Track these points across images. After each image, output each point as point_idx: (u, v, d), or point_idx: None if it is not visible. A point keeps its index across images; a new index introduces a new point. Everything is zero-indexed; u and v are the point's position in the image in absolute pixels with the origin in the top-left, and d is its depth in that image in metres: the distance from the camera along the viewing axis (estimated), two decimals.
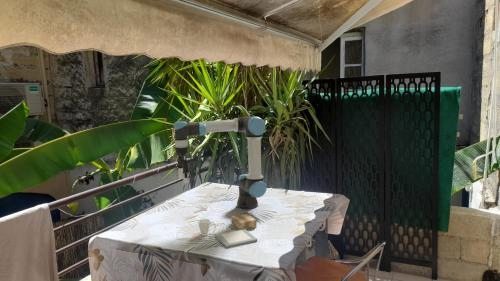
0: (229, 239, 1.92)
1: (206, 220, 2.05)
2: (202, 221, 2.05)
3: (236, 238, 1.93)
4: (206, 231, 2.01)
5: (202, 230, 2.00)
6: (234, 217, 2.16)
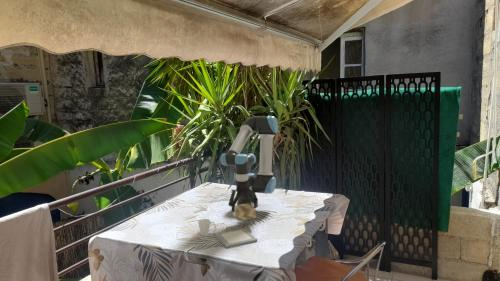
0: (229, 239, 1.92)
1: (206, 220, 2.05)
2: (202, 221, 2.05)
3: (236, 238, 1.93)
4: (206, 231, 2.01)
5: (202, 230, 2.00)
6: None
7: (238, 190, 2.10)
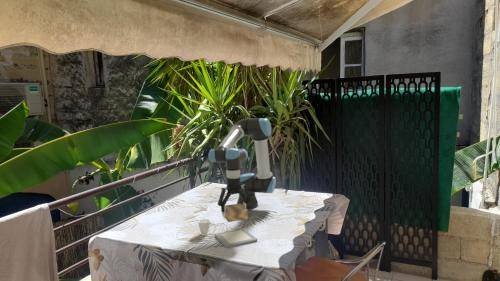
0: (229, 239, 1.92)
1: (206, 220, 2.05)
2: (202, 221, 2.05)
3: (236, 238, 1.93)
4: (206, 231, 2.01)
5: (202, 230, 2.00)
6: None
7: (229, 188, 1.89)
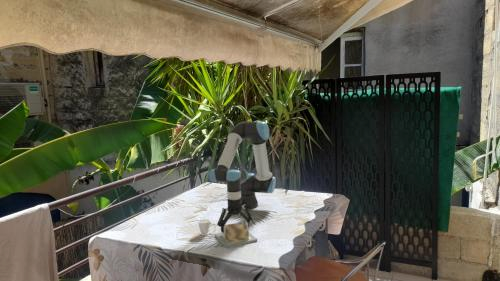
0: None
1: (206, 220, 2.05)
2: (202, 221, 2.05)
3: None
4: (206, 231, 2.01)
5: (202, 230, 2.00)
6: (225, 226, 1.97)
7: (229, 209, 1.91)
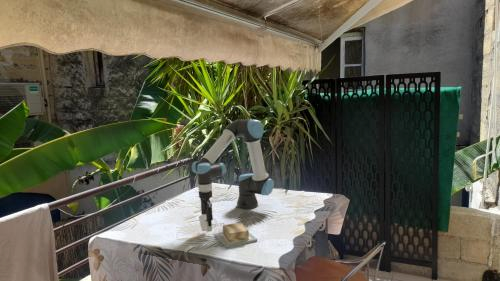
0: None
1: None
2: (203, 216, 2.04)
3: None
4: None
5: (203, 226, 2.00)
6: (225, 226, 1.97)
7: None
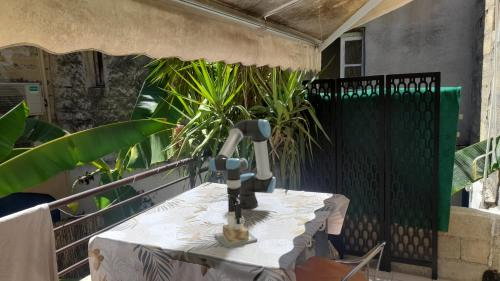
0: None
1: (234, 213, 1.96)
2: (230, 214, 1.96)
3: None
4: None
5: (231, 224, 1.91)
6: (225, 226, 1.97)
7: None
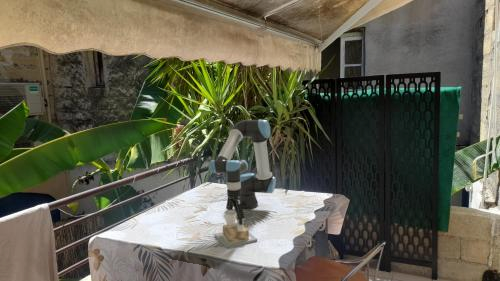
0: None
1: (232, 211, 1.99)
2: (228, 212, 1.98)
3: None
4: (232, 223, 1.95)
5: (228, 222, 1.95)
6: (225, 226, 1.97)
7: None
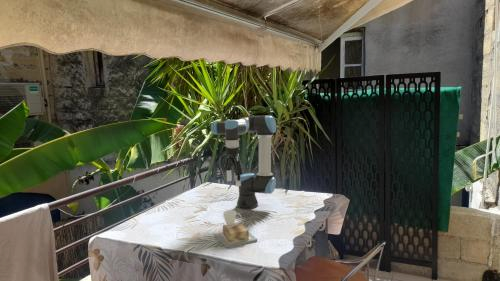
0: None
1: (231, 211, 2.00)
2: (227, 212, 2.00)
3: None
4: (232, 222, 1.96)
5: (228, 221, 1.95)
6: (225, 226, 1.97)
7: None
